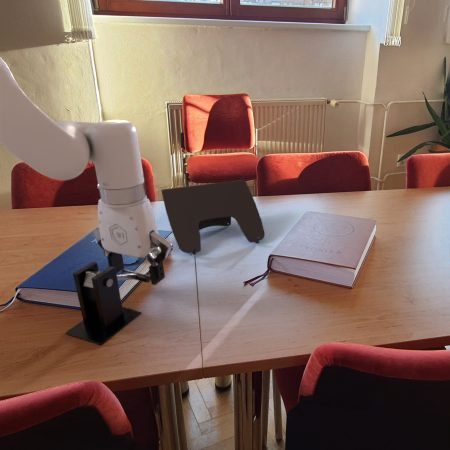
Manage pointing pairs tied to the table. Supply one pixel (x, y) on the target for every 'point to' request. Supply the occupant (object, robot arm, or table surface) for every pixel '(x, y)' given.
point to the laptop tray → (211, 211)
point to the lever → (118, 277)
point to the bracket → (100, 306)
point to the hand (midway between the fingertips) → (137, 276)
